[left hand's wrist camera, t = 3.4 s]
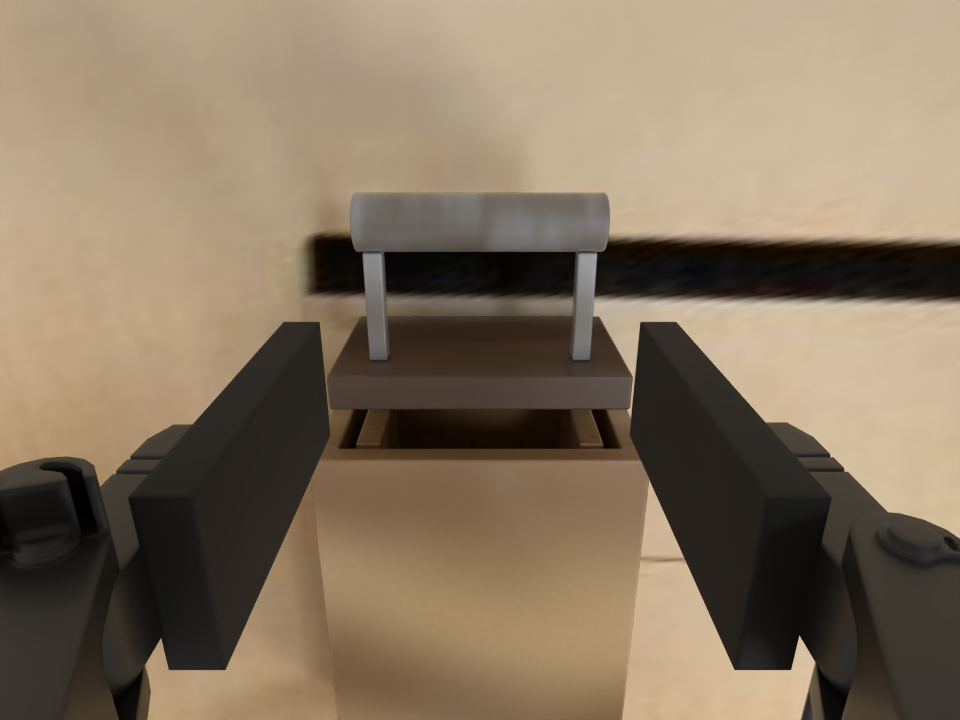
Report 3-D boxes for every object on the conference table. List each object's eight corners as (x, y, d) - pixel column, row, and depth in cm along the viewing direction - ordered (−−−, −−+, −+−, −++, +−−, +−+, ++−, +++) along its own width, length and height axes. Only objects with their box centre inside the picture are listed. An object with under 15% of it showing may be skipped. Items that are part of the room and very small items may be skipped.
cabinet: (353, 365, 28) (307, 460, 20) (606, 365, 28) (652, 460, 20) (380, 710, 35) (354, 871, 28) (579, 710, 35) (605, 871, 28)
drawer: (349, 177, 24) (309, 200, 18) (610, 176, 24) (650, 200, 18) (385, 674, 33) (366, 793, 27) (574, 674, 33) (593, 793, 27)
